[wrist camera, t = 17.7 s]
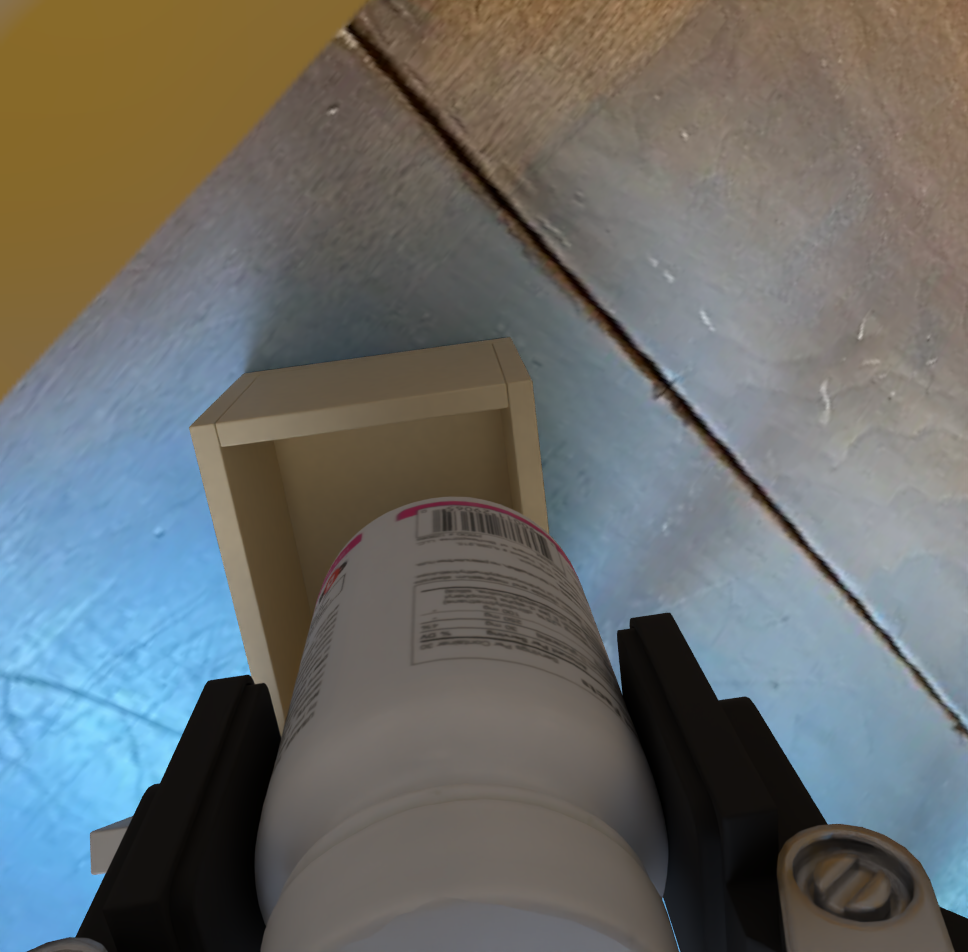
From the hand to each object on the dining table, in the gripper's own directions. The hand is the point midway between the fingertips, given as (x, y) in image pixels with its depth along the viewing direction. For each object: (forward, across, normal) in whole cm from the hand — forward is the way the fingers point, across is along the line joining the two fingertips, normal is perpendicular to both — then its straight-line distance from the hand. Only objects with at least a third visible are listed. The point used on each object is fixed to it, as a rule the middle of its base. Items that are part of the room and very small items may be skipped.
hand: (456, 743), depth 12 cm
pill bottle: (+4, 0, 0) cm, 4 cm away
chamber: (+23, +2, +5) cm, 24 cm away
